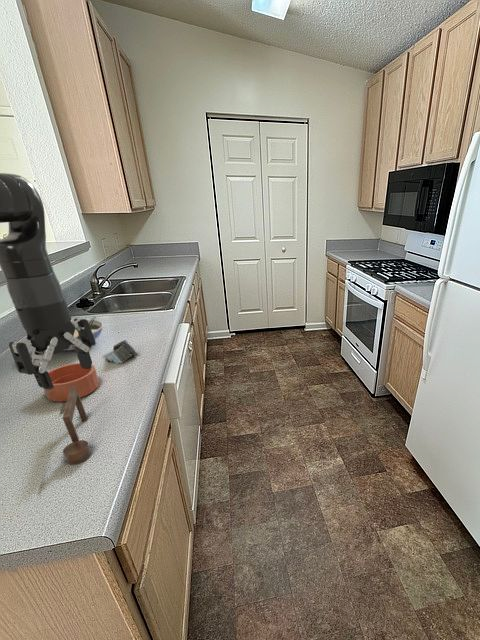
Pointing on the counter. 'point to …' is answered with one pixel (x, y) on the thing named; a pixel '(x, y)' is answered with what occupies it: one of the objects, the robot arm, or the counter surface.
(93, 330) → the ramen bowl
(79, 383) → the bowl
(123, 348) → the grey angular wedge
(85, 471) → the counter surface
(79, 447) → the brown bent ladle
